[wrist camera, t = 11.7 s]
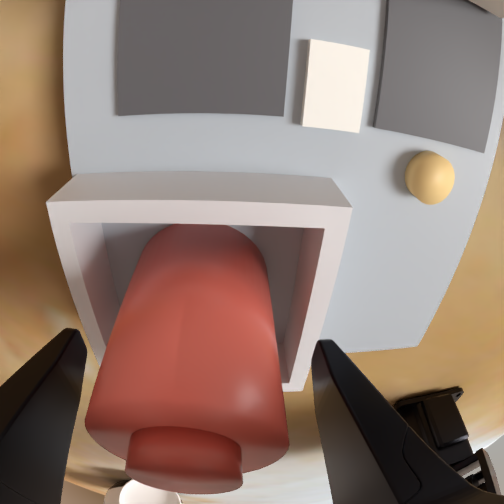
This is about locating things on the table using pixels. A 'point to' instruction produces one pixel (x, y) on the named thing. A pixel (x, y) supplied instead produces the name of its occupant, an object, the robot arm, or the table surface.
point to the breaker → (492, 6)
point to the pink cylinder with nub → (193, 365)
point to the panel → (282, 153)
